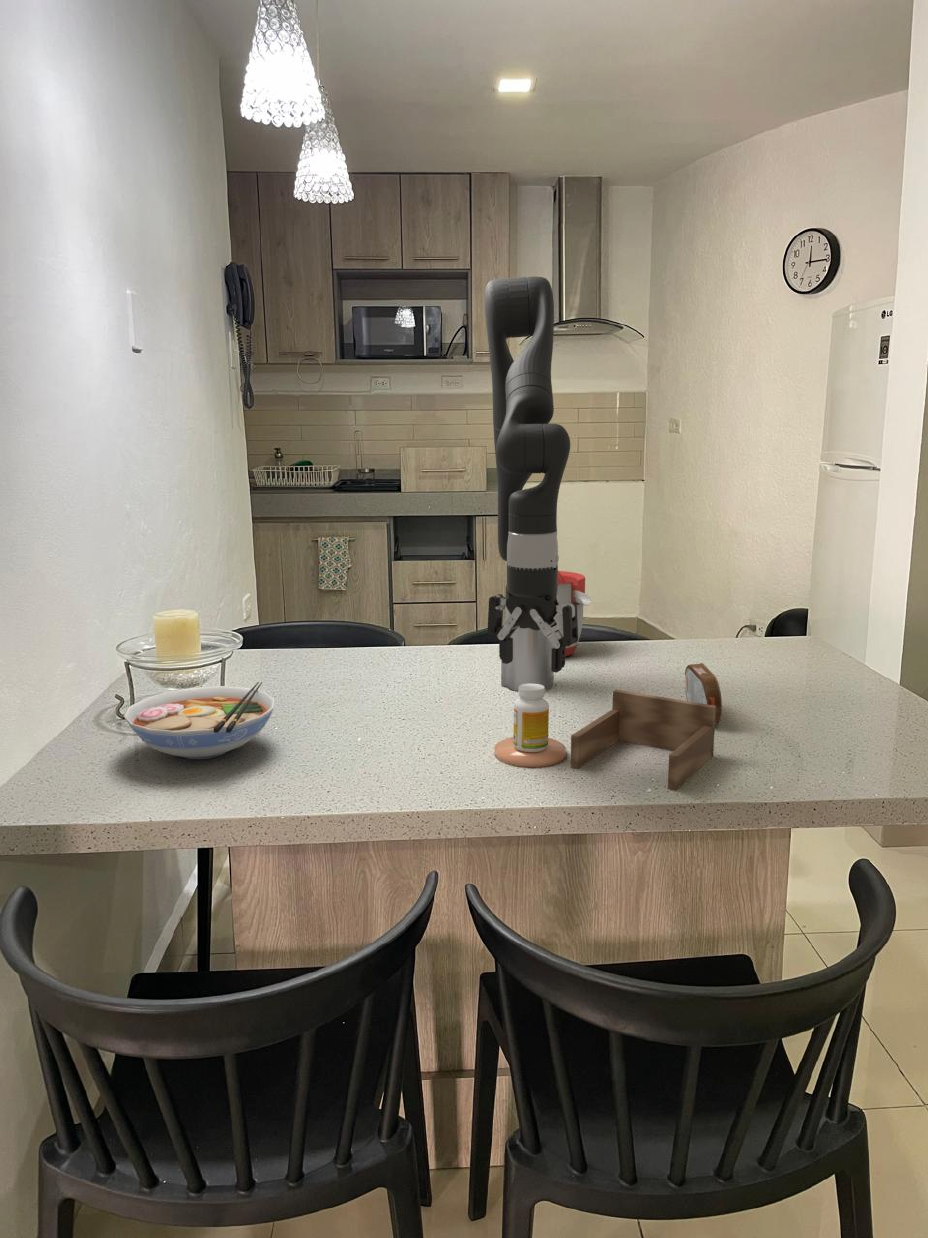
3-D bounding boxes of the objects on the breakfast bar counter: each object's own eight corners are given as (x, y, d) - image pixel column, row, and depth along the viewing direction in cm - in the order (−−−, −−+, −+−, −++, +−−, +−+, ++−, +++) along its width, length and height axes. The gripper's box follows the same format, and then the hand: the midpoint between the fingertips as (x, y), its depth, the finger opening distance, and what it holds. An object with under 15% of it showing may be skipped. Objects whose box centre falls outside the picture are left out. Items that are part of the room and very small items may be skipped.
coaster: (481, 758, 145) (481, 752, 145) (516, 737, 154) (517, 731, 154) (544, 772, 139) (544, 766, 139) (577, 750, 148) (578, 744, 148)
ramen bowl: (159, 725, 162) (155, 679, 160) (293, 725, 161) (290, 679, 159) (100, 782, 137) (94, 728, 136) (257, 782, 137) (253, 728, 135)
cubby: (570, 767, 141) (571, 716, 140) (614, 736, 154) (616, 689, 153) (675, 790, 133) (678, 736, 131) (713, 755, 146) (715, 705, 144)
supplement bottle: (555, 747, 147) (556, 686, 145) (532, 755, 143) (533, 693, 141) (529, 739, 150) (530, 680, 149) (506, 747, 147) (506, 686, 145)
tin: (722, 730, 157) (725, 681, 155) (703, 730, 157) (706, 681, 155) (698, 702, 172) (700, 657, 170) (681, 702, 172) (683, 657, 170)
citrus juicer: (570, 667, 195) (572, 571, 191) (498, 655, 205) (498, 564, 200) (603, 650, 208) (605, 560, 204) (533, 641, 217) (534, 554, 213)
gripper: (478, 561, 141) (478, 666, 145) (564, 570, 133) (562, 680, 137) (503, 553, 147) (503, 654, 151) (587, 561, 139) (585, 667, 143)
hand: (531, 666), depth 144 cm, fingers open, 8 cm apart
